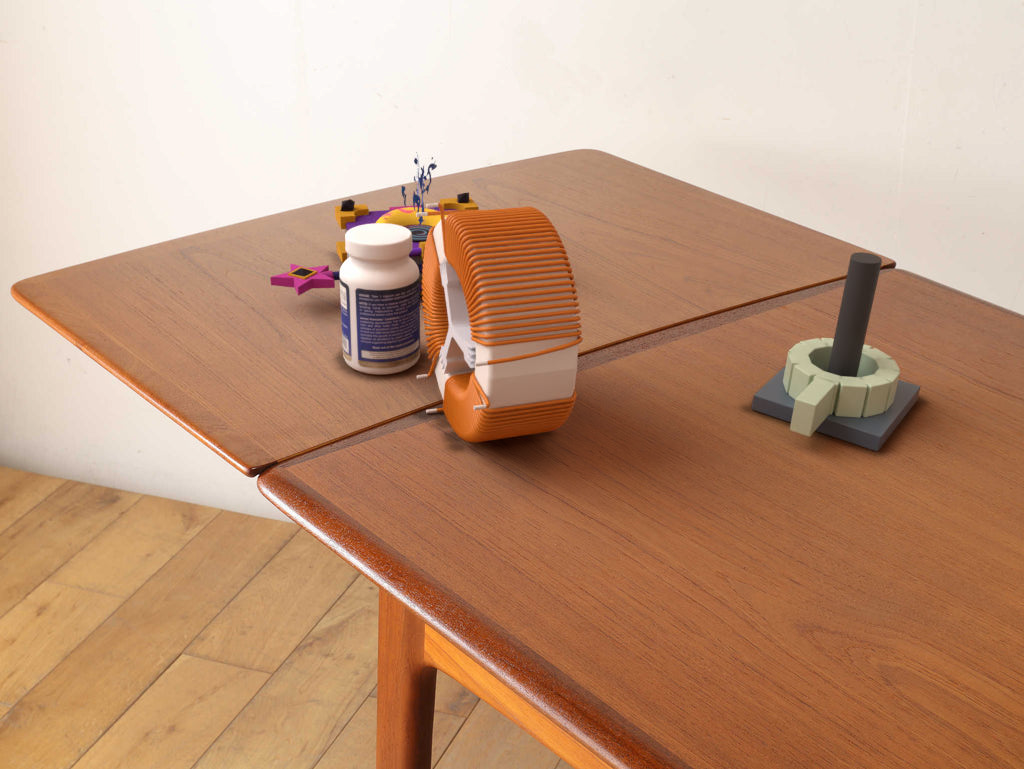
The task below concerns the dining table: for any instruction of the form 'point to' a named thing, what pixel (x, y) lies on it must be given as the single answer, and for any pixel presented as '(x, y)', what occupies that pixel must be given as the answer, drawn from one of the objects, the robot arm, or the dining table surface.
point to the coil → (500, 321)
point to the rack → (847, 365)
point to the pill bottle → (380, 300)
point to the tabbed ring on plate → (836, 385)
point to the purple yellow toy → (361, 215)
